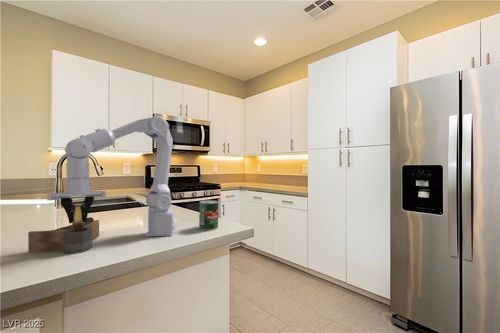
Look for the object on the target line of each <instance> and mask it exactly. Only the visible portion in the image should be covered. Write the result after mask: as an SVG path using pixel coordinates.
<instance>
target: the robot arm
mask: <svg viewBox="0 0 500 333" xmlns="http://www.w3.org/2000/svg"><path fill="white" fill-rule="evenodd" d="M169 127H170V124H169V123H168V121H166V120H165V118H164V117H162V116H161V115H153V117H146V118H141V119H137V120H134V121H132V122H130V123H129V122H128V123H126V124H124V125H122V126H119V127H117V128H114V129H112V130H109V129H107V128H102V129H101V128H97V129H95V132H91V133H88V134H86V135H84V134H82V135H79V137H76V138H75V139H72V140H70V141H68V142H67V144H66V145H65V147H64V151H65V154H66V155H67V156H66V191H65V192H64V191H62V192H49V193H47V196H46V197H47V198H46V200H47V201H57V200H59V201H60V204H61V206H62V207H63V210H64V211H65V214H66V216H67V218H68V223H69V224H72V205H73V200H74V199H75V200H76V199H84V200H83V204H84V222H87V218H88V214H89V211H90V209H91V207H92V205H93V203H94V201H95V198H106V194H107V192H106V191H107V190H90V163H89V161H90V160H89V158H90V157H89V155H91V153H96V152H99V151H101V150H103V149H105V148H108V147H111V146H113V145H114V144H115V141H116V140H117V139H120V138H123V137H126V136H128V135H131V134H133V133H134V134H135V133H144V134H145V135H146V136H148V137H150V138H152V139H153V140H154V142H155V143H156V144H157V147H156V148H157V149H156V157H155V166H154V171H153V172H154V174H153V182H152V185H151V187H150V189H149V193H148V194H147V196H146V198H145V203H146V205H147V206H148V210H147V211H148V212H147V213H148V214H147V215H148V217H147V218H148V220H147V221H148V225H147V228H148V229H147V230H148V231H147V232H146V234H145V235H144V237H165V236H166V237H170V236H173V234H174V232H175V230H176V228H175V227H176V224H175V222H176V221H175V216H176V215H175V210H174V209H173V210H172V209H170V208H171V206H172V197H171V190H170V188H169V185H168V184H169V176H170V168H171V159H172V151H173V150H172V149H173V142H174V140H173V137H172V134H171V131H170V128H169Z"/></svg>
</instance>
